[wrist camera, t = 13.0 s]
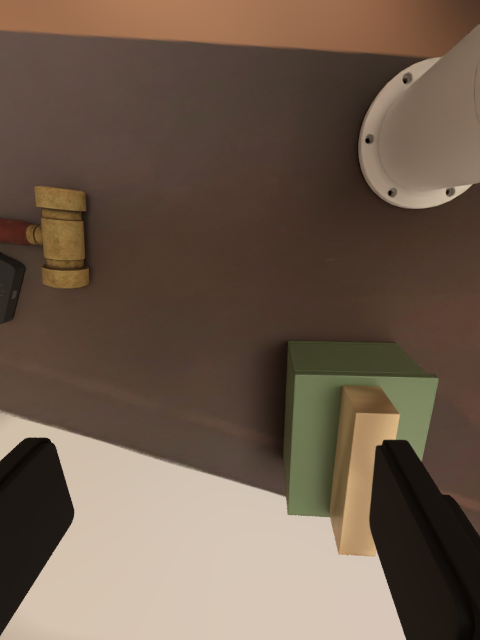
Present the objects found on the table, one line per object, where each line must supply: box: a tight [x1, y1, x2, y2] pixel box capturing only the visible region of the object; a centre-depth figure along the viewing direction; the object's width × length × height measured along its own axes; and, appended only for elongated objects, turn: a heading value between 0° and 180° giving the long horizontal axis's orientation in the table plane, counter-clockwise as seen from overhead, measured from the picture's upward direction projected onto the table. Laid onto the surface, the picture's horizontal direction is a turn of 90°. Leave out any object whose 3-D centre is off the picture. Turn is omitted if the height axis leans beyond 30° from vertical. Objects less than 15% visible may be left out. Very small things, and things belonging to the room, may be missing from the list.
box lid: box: [287, 371, 439, 517], centre depth 32 cm, size 13×18×1 cm
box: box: [283, 341, 428, 503], centre depth 37 cm, size 13×18×8 cm
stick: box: [329, 385, 400, 556], centre depth 30 cm, size 4×16×4 cm, turn 1°
